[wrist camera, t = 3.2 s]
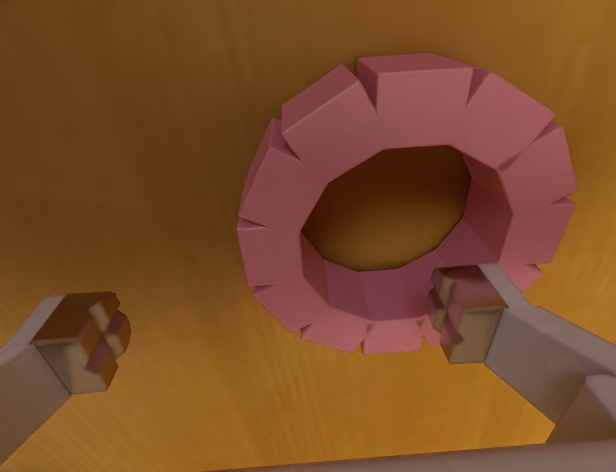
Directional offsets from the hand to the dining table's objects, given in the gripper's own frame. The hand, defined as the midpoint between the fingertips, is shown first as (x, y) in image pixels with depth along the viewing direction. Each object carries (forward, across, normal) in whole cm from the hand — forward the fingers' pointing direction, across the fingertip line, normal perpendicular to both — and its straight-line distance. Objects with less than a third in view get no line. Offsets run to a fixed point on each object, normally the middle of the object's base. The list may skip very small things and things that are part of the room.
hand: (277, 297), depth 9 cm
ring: (+4, -4, 0) cm, 6 cm away
